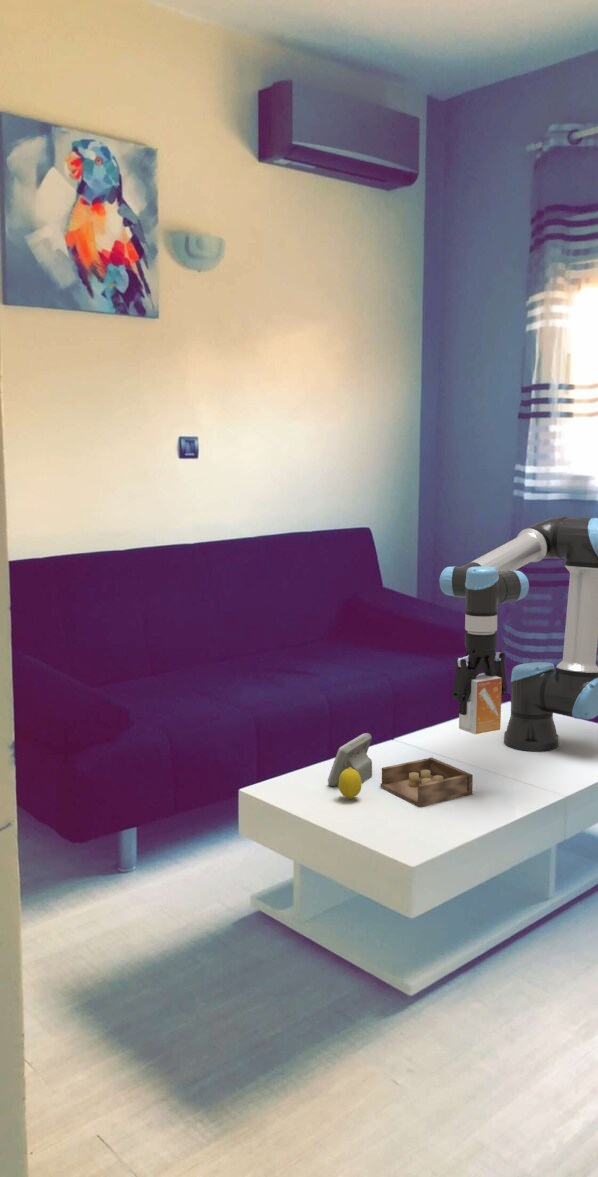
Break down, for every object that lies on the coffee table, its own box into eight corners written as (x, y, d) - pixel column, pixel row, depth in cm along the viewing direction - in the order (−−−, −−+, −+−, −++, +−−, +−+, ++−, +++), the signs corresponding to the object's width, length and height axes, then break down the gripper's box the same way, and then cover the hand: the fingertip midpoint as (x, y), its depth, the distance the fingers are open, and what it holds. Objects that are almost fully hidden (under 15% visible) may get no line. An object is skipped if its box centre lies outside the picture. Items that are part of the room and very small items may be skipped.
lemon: (364, 796, 235) (364, 765, 234) (358, 804, 230) (357, 772, 228) (342, 794, 236) (342, 762, 235) (335, 802, 231) (335, 770, 230)
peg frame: (431, 776, 249) (431, 757, 248) (472, 794, 235) (472, 774, 235) (380, 787, 241) (380, 768, 240) (419, 807, 227) (419, 786, 227)
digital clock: (356, 768, 256) (356, 729, 255) (384, 775, 250) (384, 735, 249) (317, 784, 244) (317, 743, 243) (345, 792, 238) (345, 750, 237)
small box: (476, 735, 229) (477, 681, 227) (458, 729, 234) (459, 676, 232) (501, 730, 233) (502, 677, 231) (483, 723, 238) (484, 672, 237)
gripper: (502, 625, 239) (500, 714, 242) (436, 633, 228) (435, 727, 231) (524, 629, 232) (522, 721, 236) (457, 638, 222) (456, 735, 225)
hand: (479, 724), depth 233 cm, fingers closed on small box, 8 cm apart
